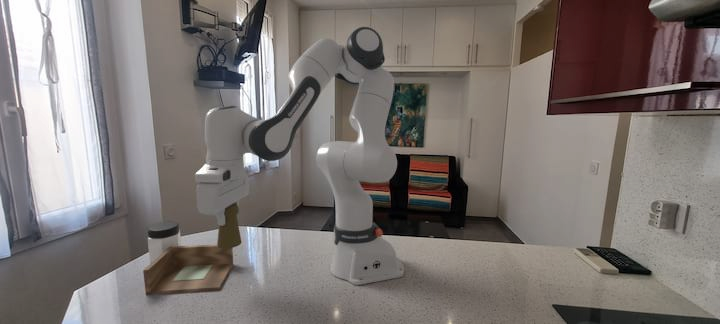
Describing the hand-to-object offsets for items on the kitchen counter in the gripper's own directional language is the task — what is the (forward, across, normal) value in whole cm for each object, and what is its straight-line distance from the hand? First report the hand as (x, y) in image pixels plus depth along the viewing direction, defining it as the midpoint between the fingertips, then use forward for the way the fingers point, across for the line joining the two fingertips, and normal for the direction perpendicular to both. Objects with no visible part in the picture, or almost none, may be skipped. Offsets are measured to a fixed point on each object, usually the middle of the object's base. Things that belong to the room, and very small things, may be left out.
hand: (227, 220), depth 79 cm
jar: (+19, -11, -26) cm, 34 cm away
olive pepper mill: (+7, 0, 0) cm, 7 cm away
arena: (+18, -3, -12) cm, 22 cm away
